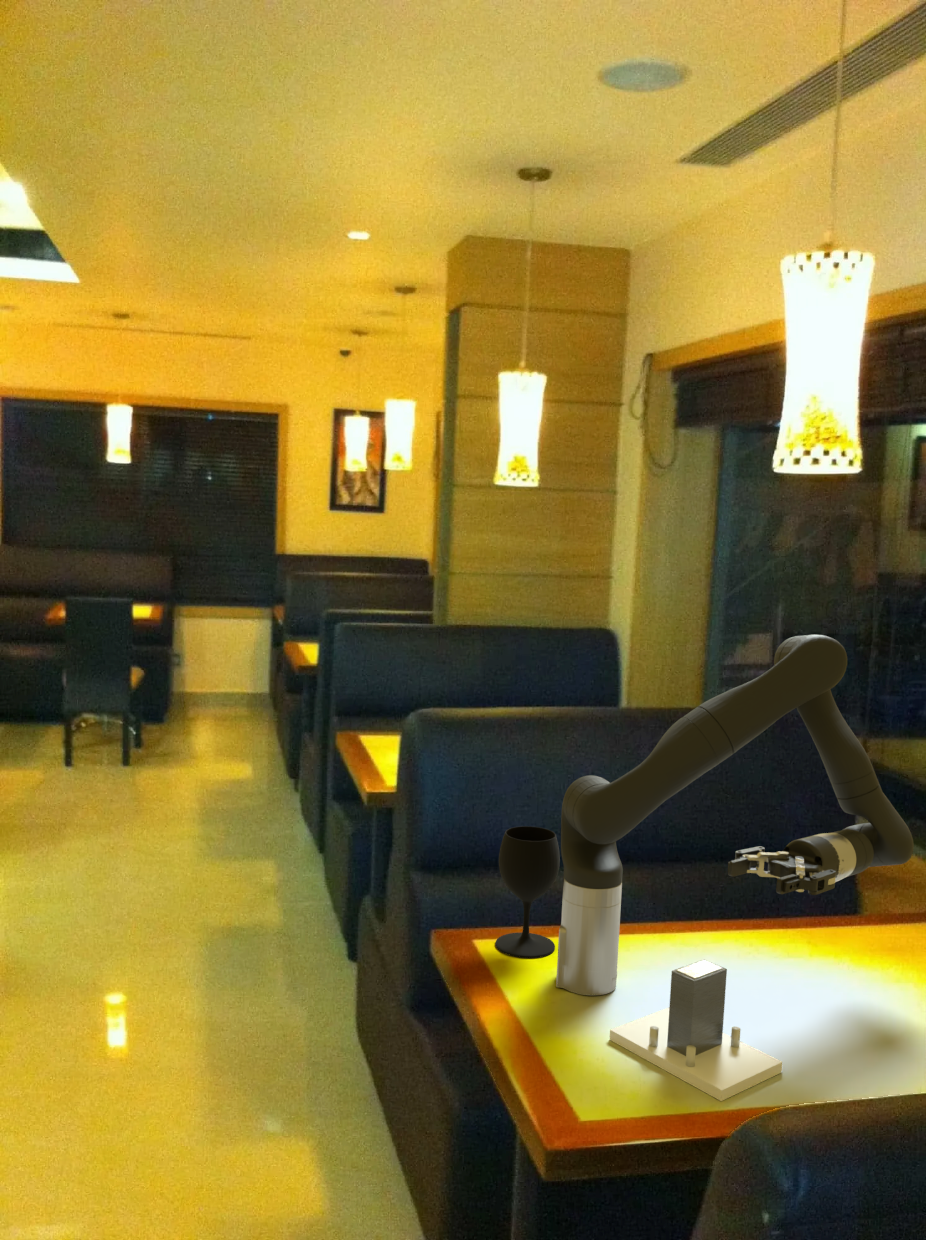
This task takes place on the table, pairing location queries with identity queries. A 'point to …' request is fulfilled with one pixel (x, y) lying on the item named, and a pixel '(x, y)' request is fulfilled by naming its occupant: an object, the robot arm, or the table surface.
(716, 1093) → the peg board
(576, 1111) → the table surface
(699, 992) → the grey rectangular block
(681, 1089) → the table surface
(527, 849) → the wine glass
